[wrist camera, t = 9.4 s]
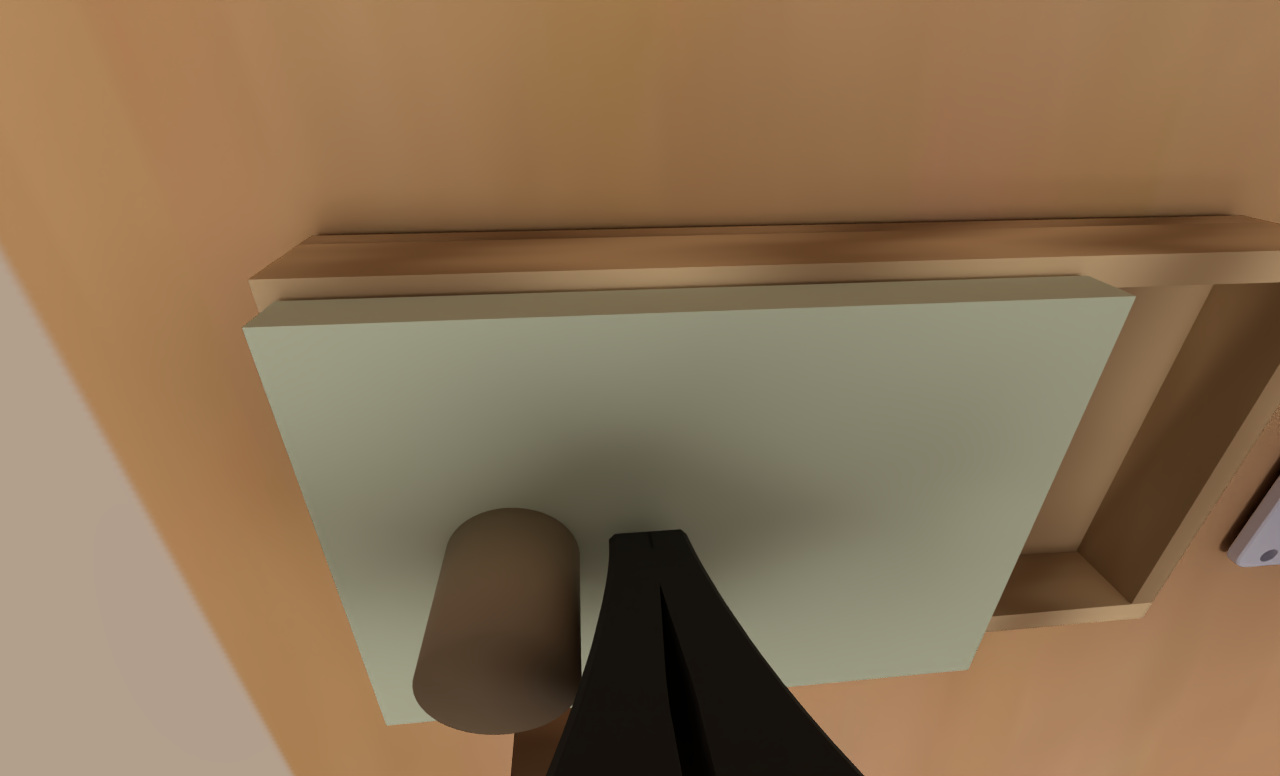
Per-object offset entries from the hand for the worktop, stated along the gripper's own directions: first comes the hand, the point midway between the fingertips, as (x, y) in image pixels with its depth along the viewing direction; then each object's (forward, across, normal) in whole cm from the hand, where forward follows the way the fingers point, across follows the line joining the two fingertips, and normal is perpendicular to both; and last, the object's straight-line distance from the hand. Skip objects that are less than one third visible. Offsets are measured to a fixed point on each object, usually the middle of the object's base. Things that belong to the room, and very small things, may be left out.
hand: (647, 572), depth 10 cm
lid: (+2, -1, 0) cm, 2 cm away
